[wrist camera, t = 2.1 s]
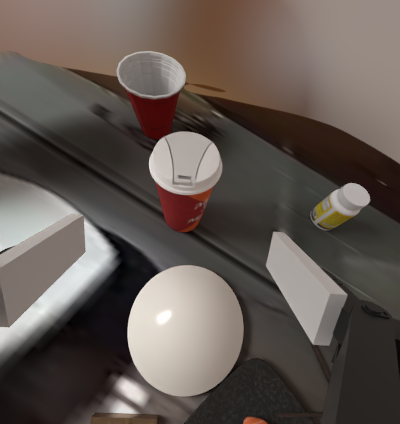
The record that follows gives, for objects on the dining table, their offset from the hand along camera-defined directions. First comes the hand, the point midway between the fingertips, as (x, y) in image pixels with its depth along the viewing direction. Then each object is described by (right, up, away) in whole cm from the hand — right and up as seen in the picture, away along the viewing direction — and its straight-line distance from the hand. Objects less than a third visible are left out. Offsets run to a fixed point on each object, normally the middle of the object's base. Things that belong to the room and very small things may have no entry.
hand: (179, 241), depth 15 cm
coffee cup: (-2, +1, +22) cm, 22 cm away
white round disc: (0, -13, +14) cm, 19 cm away
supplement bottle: (+23, +1, +24) cm, 34 cm away
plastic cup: (-7, +19, +30) cm, 36 cm away
